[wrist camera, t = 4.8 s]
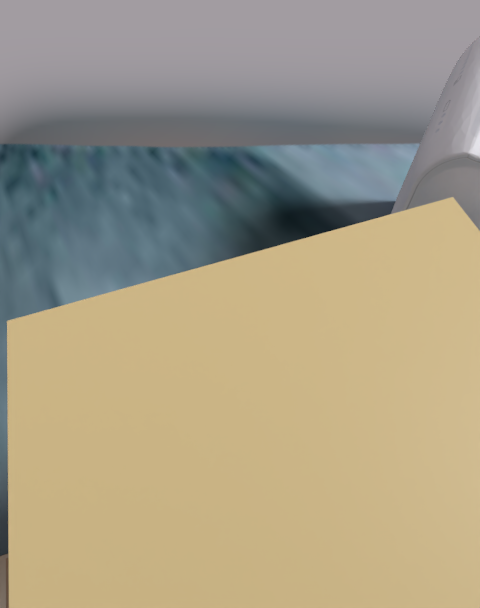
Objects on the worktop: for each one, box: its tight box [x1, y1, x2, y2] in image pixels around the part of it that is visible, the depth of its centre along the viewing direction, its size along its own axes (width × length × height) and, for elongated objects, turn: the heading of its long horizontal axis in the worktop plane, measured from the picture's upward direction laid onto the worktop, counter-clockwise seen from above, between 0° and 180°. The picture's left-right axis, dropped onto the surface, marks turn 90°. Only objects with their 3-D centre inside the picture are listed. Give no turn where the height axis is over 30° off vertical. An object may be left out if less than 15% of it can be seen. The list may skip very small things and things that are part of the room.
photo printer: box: [391, 37, 480, 231], centre depth 19 cm, size 10×4×12 cm, turn 153°
